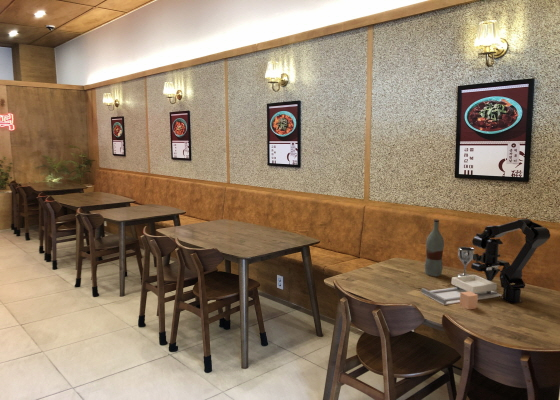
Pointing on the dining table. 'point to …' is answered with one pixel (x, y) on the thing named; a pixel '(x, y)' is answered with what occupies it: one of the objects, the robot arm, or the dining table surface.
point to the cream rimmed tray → (474, 284)
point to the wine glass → (465, 257)
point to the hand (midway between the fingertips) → (489, 282)
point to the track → (454, 295)
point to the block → (468, 300)
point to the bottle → (434, 251)
